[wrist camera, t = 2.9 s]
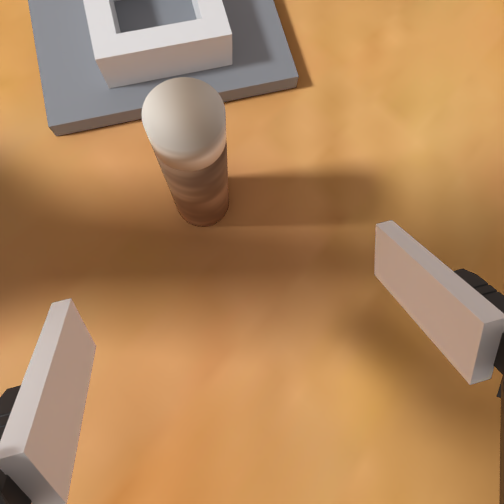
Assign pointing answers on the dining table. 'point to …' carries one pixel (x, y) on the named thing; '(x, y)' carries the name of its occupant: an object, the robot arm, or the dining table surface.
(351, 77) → the dining table surface
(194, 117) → the cream round-topped cylinder
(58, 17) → the socket board
